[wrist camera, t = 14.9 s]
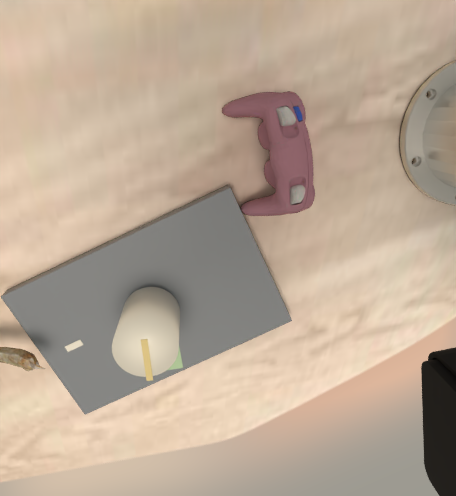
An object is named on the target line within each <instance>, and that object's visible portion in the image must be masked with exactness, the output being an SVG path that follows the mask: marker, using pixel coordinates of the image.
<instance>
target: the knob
mask: <svg viewBox="0 0 456 496" xmlns="http://www.w3.org/2000/svg"><path fill="white" fill-rule="evenodd" d="M179 328H180V308H179V304H178V302H177V300H176V299H175V297H174V296H173V295H172V294H171V293H169V292H168V291H166V290H164V289H161V288H158V287H145V288H141V289H139V290H137V291H135V292H133V293H132V294H131V295H130V296H129V297H128V299H127V300H126V302H125V304H124V307H123V310H122V313H121V317H120V320H119V323H118V326H117V329H116V332H115V335H114V338H113V342H112V354H113V357H114V359H115V361H116V363H117V364H118V365H119V366H120V367H121V368H122V369H123V370H125V371H126V372H128V373H130V374H132V375H135V376H140V377H146V380H147V381H152V380H153V376H155V375H159V374H161V373H163V372H165V371H166V370H168V369H169V368H170V367H171V366H172V365H173V363H174V362H175V360H176V358H177V356H178V351H179Z"/></svg>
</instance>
